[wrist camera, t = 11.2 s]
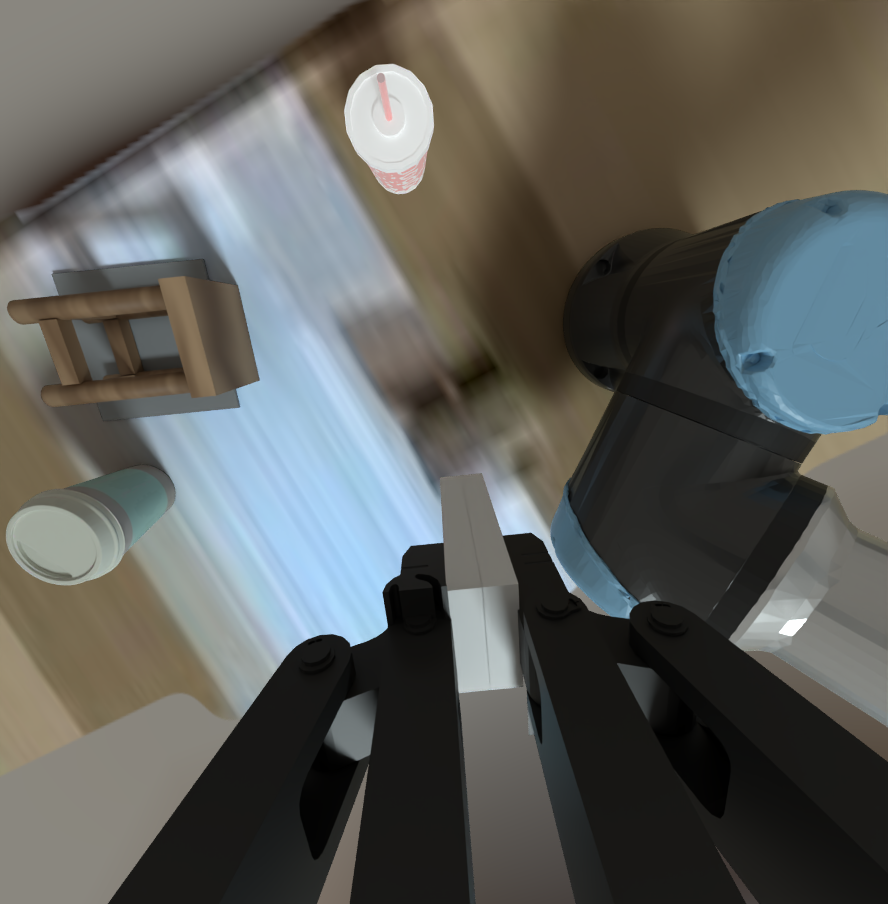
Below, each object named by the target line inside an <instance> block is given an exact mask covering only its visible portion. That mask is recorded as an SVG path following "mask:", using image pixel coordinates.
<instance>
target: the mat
mask: <svg viewBox="0 0 888 904" xmlns="http://www.w3.org/2000/svg"><path fill="white" fill-rule="evenodd" d="M180 276H187V277H193V278H198V279H204V280H209V278H208V274H207V270H206V266H205V262H204V259H197V260H187V261H177V262H167V263H157V264H147V265H137V266H127V267H117V268H107V269H97V270H87V271H77V272H67V273H57V274H52V277H53V279H54V282H55V285H56V288H57V291H58V294H59V296H61V295H70V294H80V293H90V292H99V291H109V290H119V289H128V288H138V287H148V286H157V285H159V281H158V279H161V278H170V277H180ZM128 321H129V324H130V327H131V331H132V334H133V337H134V340H135V343H136V347H137V350H138V353H139V356H140V359H141V363H142V366H143V369H144V371H152V370H162V369H172V368H181V367H183V366H182V362H181V359H180V355H179V352H178V348H177V345H176V341H175V338H174V334H173V331H172V327H171V324H170V320H169V316H160V317H150V318H141V319H131V320H128ZM72 323H73V326H74V329H75V331H76V334H77V337H78V340H79V343H80V346H81V349H82V351H83V354H84V357H85V360H86V363H87V366H88V368H89V371H90V374H91V377H92V380H93V381H94V380H103V377H104V376H106V375H114V374H120V373H119V370H118V367H117V364H116V361H115V358H114V355H113V352H112V348H111V345H110V342H109V339H108V336H107V333H106V330H105V327H104V324H103V322H102V323H92V324H87V323H85V322H84V321H82V320H72ZM97 405H98V408H99V411H100V414H101V417H102V419H103V421H109V420H119V419H129V418H139V417H150V416H160V415H170V414H180V413H190V412H200V411H210V410H220V409H230V408H239V407H240V404H239V400H238V396H237V392H236V389H234V390H231V391H228V392H225V393H222V394H220V395H217V396H208V397H198V398H191V394H190V393H185V394H176V395H166V396H156V397H146V398H137V399H127V400H117V401H108V402H98V403H97Z"/></svg>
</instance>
